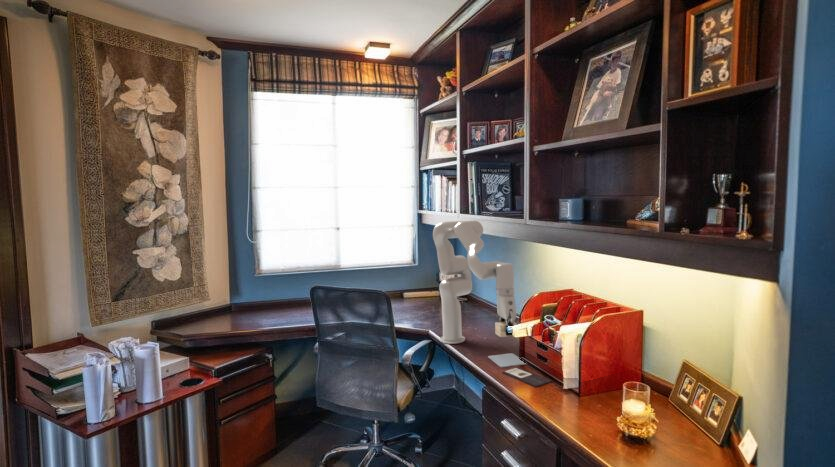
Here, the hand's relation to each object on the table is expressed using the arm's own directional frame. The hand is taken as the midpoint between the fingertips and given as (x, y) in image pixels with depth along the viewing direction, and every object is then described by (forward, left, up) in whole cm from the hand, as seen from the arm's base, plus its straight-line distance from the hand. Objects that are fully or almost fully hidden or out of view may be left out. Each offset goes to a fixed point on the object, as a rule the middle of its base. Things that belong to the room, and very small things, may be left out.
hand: (506, 332), depth 196 cm
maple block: (0, 0, -1) cm, 1 cm away
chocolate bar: (+20, -1, -13) cm, 24 cm away
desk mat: (0, 0, -12) cm, 12 cm away
